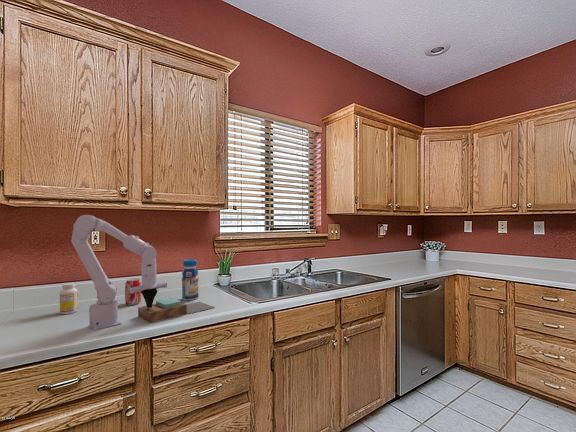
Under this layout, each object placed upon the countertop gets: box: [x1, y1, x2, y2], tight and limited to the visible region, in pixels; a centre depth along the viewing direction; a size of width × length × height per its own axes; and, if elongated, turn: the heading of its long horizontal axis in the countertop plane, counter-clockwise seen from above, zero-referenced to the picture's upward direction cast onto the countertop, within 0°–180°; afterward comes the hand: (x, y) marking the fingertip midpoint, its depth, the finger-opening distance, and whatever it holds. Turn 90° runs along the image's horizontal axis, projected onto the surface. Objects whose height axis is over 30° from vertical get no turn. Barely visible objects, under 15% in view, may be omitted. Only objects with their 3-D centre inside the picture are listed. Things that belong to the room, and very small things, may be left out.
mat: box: [186, 301, 216, 315], centre depth 145 cm, size 13×14×1 cm
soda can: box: [124, 277, 142, 306], centre depth 153 cm, size 7×7×12 cm
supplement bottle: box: [59, 282, 79, 315], centre depth 140 cm, size 7×7×13 cm
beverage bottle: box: [181, 258, 199, 301], centre depth 162 cm, size 8×8×20 cm
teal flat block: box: [155, 297, 182, 308], centre depth 136 cm, size 7×9×2 cm
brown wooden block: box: [137, 302, 188, 324], centre depth 134 cm, size 16×12×4 cm
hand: (149, 307), depth 130 cm, fingers closed
